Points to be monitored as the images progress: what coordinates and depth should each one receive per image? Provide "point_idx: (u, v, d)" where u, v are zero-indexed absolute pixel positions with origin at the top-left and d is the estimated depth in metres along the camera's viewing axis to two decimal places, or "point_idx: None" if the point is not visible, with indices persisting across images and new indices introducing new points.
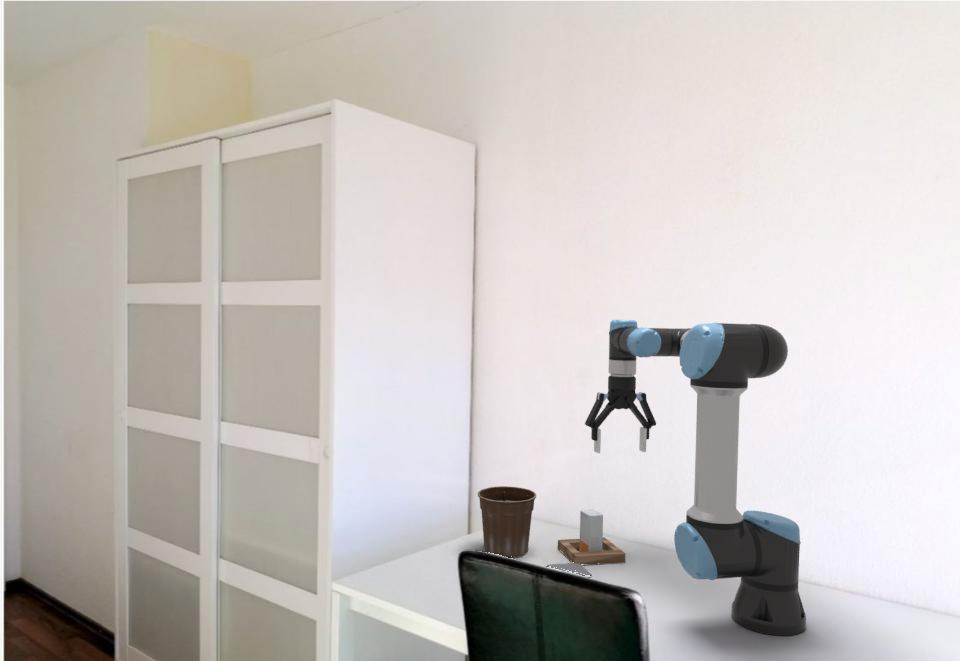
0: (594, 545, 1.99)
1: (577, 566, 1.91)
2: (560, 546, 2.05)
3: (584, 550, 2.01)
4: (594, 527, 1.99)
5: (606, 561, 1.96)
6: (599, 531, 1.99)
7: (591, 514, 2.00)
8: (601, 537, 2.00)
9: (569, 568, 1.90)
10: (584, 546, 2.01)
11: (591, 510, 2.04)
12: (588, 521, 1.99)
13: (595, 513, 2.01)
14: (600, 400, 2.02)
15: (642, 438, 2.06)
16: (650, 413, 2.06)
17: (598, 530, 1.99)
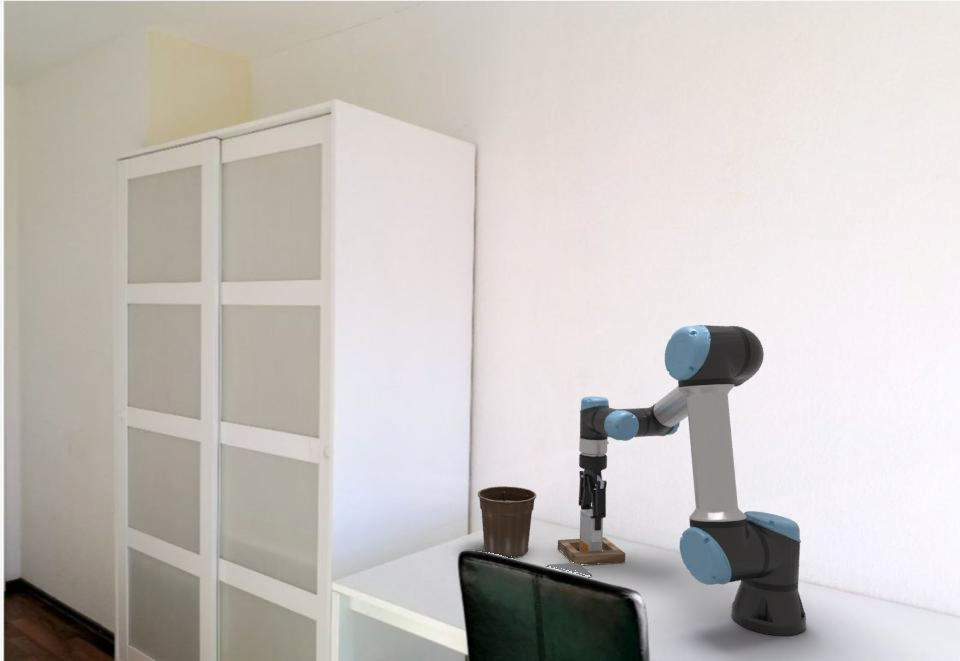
0: (594, 545, 1.99)
1: (577, 566, 1.91)
2: (560, 546, 2.05)
3: (584, 550, 2.01)
4: None
5: (606, 561, 1.96)
6: None
7: (591, 513, 2.00)
8: (601, 537, 2.00)
9: (569, 568, 1.90)
10: (584, 546, 2.01)
11: (591, 510, 2.04)
12: (588, 521, 1.99)
13: None
14: (580, 478, 2.07)
15: None
16: (596, 503, 1.96)
17: None
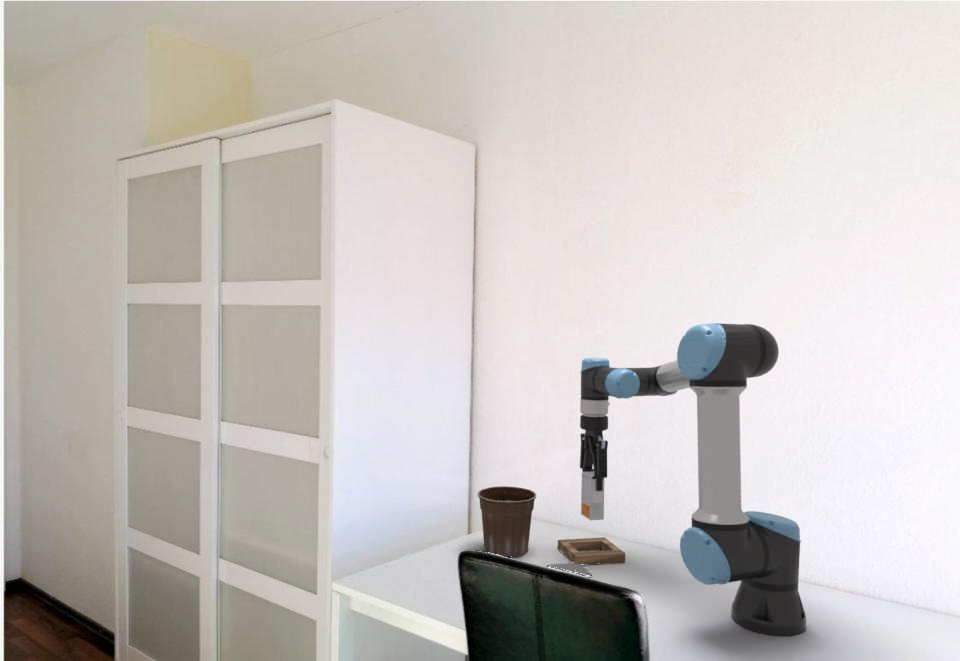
0: (596, 506, 1.99)
1: (577, 566, 1.91)
2: (560, 546, 2.05)
3: (585, 511, 2.01)
4: None
5: (606, 561, 1.96)
6: None
7: (593, 475, 2.00)
8: (603, 498, 1.99)
9: (569, 568, 1.90)
10: (585, 508, 2.01)
11: (592, 472, 2.03)
12: (589, 482, 1.99)
13: None
14: (581, 440, 2.07)
15: None
16: (598, 463, 1.95)
17: None
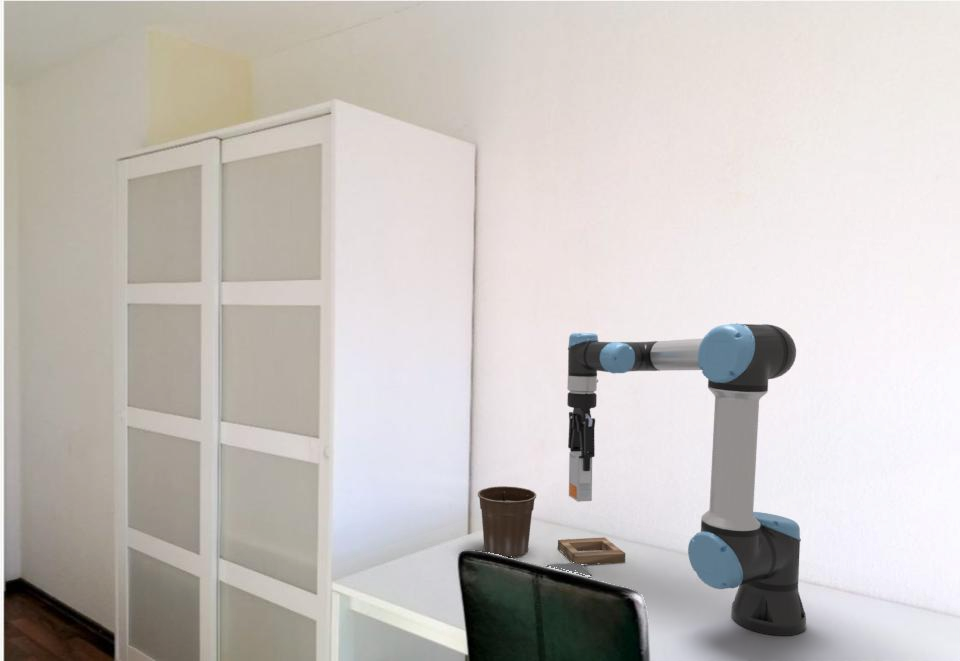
0: (583, 487, 1.91)
1: (577, 566, 1.91)
2: (560, 546, 2.05)
3: (573, 492, 1.93)
4: None
5: (606, 561, 1.96)
6: None
7: (580, 454, 1.92)
8: (590, 478, 1.91)
9: (569, 568, 1.90)
10: (573, 488, 1.93)
11: (580, 452, 1.95)
12: (577, 462, 1.91)
13: None
14: (569, 419, 1.99)
15: None
16: (584, 442, 1.87)
17: None
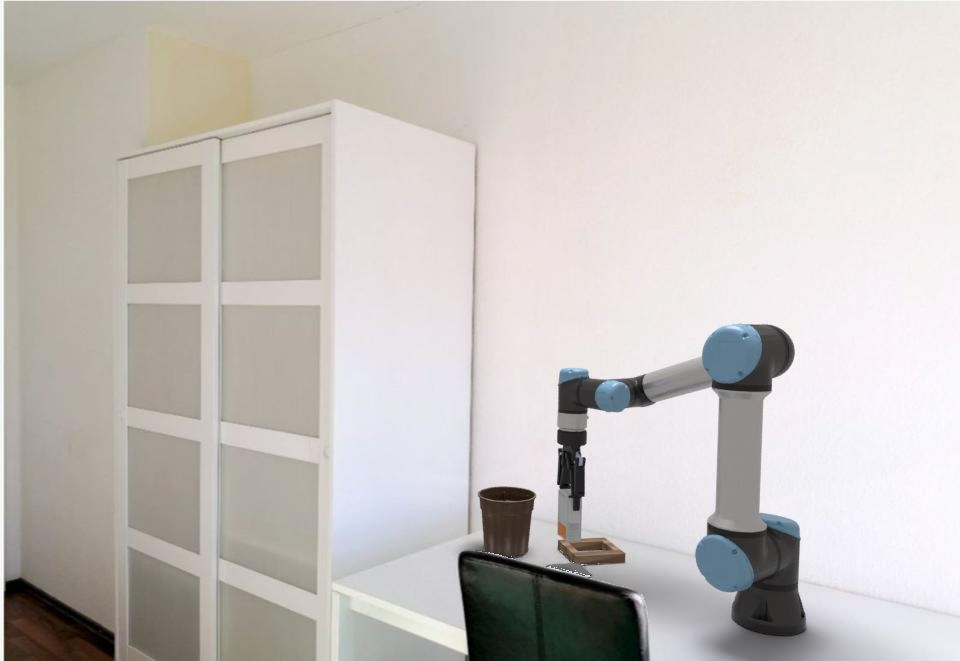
0: (573, 527, 1.86)
1: (577, 566, 1.91)
2: (560, 546, 2.05)
3: (562, 532, 1.88)
4: None
5: (606, 561, 1.96)
6: None
7: (570, 493, 1.87)
8: (580, 518, 1.86)
9: (569, 568, 1.90)
10: (562, 528, 1.88)
11: (570, 489, 1.90)
12: (566, 501, 1.86)
13: None
14: (558, 455, 1.94)
15: None
16: (575, 482, 1.82)
17: None
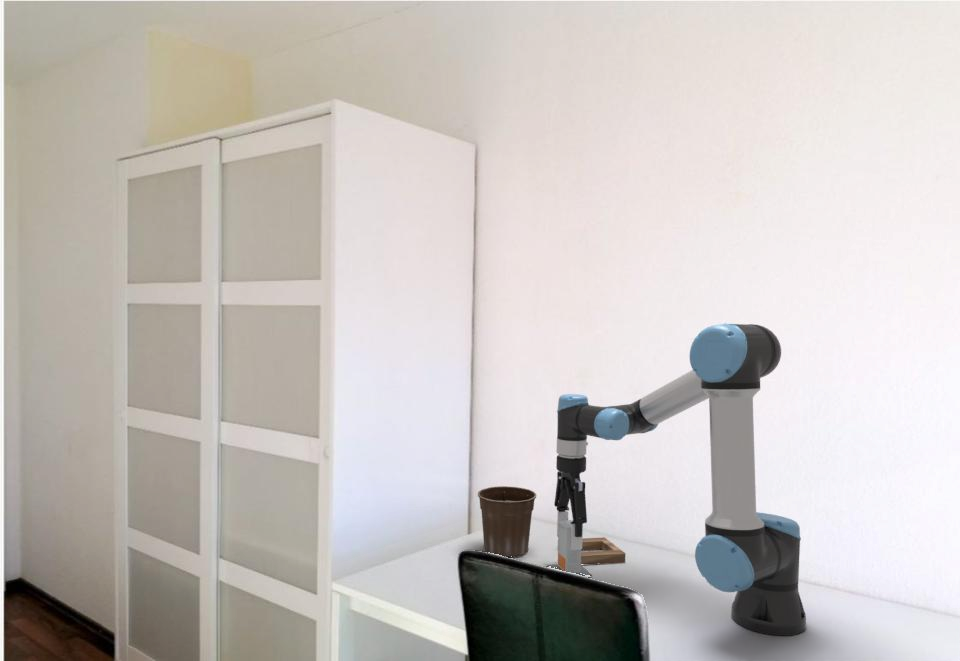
0: (572, 559, 1.86)
1: None
2: None
3: (562, 564, 1.88)
4: None
5: (606, 561, 1.96)
6: None
7: (569, 525, 1.87)
8: (579, 550, 1.86)
9: None
10: (561, 560, 1.88)
11: (570, 521, 1.90)
12: (565, 533, 1.86)
13: None
14: (557, 479, 1.94)
15: None
16: (576, 507, 1.81)
17: None
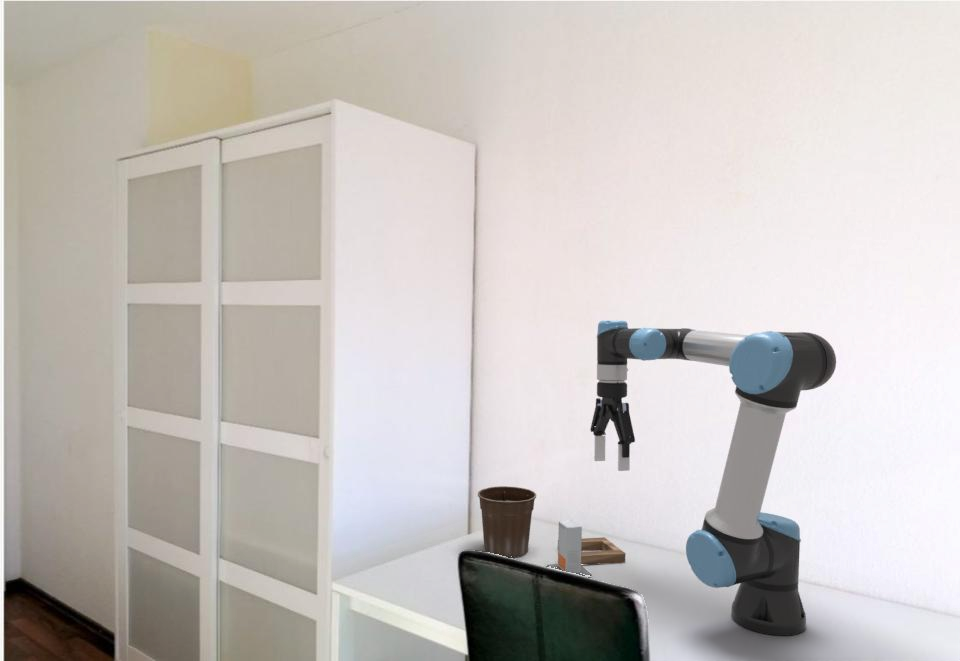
0: (572, 559, 1.86)
1: None
2: None
3: (562, 564, 1.88)
4: (572, 540, 1.86)
5: (606, 561, 1.96)
6: (577, 544, 1.86)
7: (569, 525, 1.87)
8: (580, 550, 1.86)
9: None
10: (562, 560, 1.88)
11: (570, 521, 1.90)
12: (566, 533, 1.86)
13: (573, 524, 1.87)
14: (596, 405, 1.93)
15: None
16: (622, 427, 1.78)
17: (576, 543, 1.86)
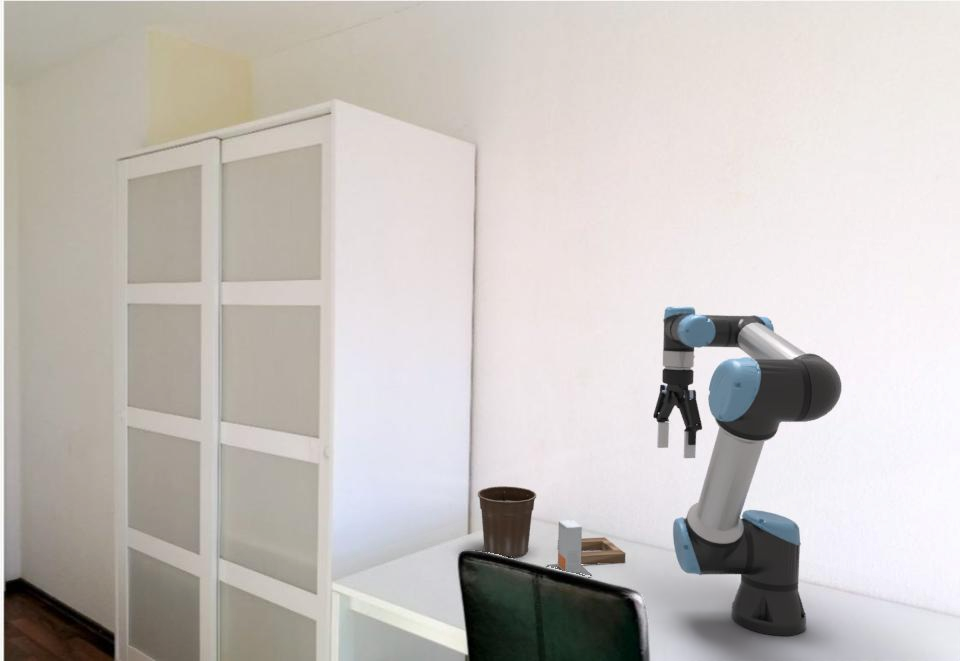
0: (572, 559, 1.86)
1: None
2: None
3: (562, 564, 1.88)
4: (572, 540, 1.86)
5: (606, 561, 1.96)
6: (577, 544, 1.86)
7: (569, 525, 1.87)
8: (580, 550, 1.86)
9: None
10: (562, 560, 1.88)
11: (570, 521, 1.90)
12: (566, 533, 1.86)
13: (573, 524, 1.87)
14: (660, 392, 1.92)
15: None
16: (689, 414, 1.77)
17: (576, 543, 1.86)
